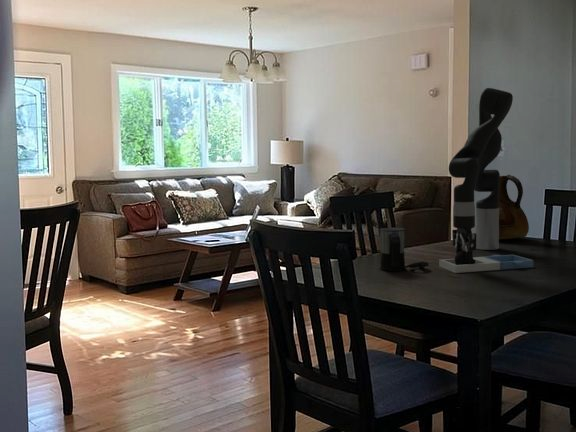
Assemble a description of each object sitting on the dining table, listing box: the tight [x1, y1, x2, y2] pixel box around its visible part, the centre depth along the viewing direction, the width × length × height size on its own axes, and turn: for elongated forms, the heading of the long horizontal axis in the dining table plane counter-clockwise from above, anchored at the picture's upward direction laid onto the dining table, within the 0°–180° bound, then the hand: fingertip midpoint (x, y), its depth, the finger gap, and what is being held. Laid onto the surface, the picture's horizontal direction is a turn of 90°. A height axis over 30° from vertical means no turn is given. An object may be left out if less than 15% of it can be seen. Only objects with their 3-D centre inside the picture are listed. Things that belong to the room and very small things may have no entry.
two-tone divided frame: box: [438, 254, 534, 274], centre depth 236 cm, size 17×30×3 cm, turn 102°
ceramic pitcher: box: [499, 174, 530, 241], centre depth 298 cm, size 20×20×30 cm
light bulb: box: [454, 250, 478, 265], centre depth 233 cm, size 6×6×10 cm
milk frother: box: [379, 227, 430, 272], centre depth 235 cm, size 14×16×15 cm
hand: (464, 260), depth 234 cm, fingers closed on light bulb, 7 cm apart
